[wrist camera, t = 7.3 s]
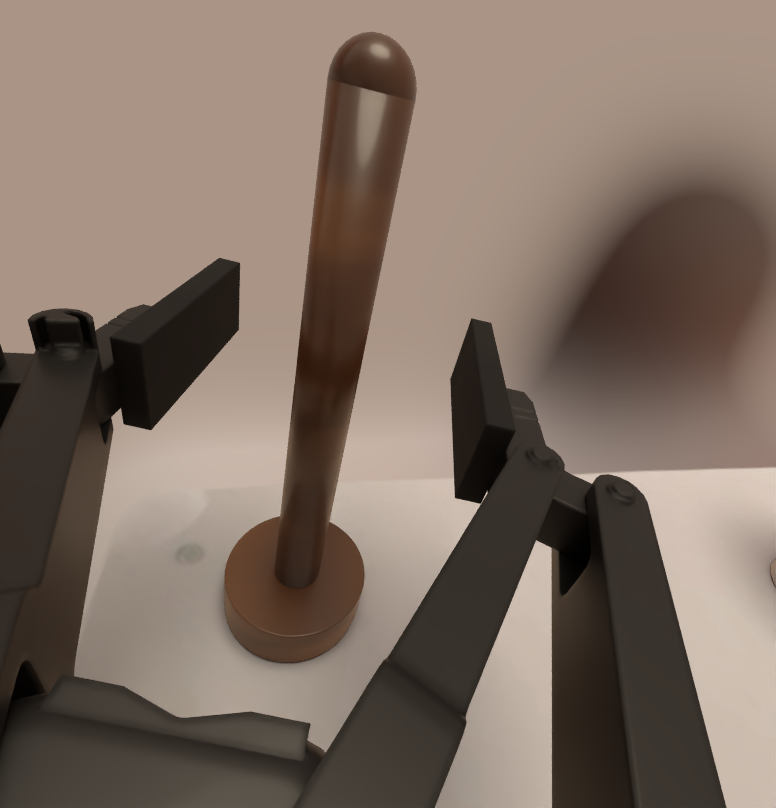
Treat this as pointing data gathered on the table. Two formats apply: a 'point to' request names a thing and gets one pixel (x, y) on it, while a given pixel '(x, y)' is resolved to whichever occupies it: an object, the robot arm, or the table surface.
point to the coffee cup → (773, 571)
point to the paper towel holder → (328, 364)
